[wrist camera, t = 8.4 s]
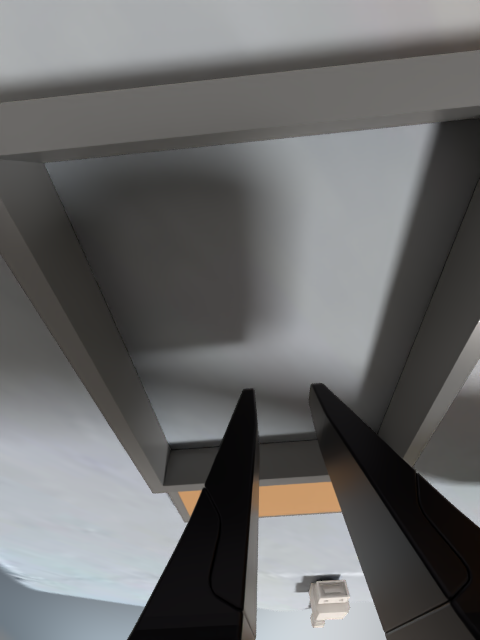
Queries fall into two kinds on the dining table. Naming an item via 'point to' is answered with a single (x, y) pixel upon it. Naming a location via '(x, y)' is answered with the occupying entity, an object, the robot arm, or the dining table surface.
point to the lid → (276, 500)
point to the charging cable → (328, 601)
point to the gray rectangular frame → (217, 129)
